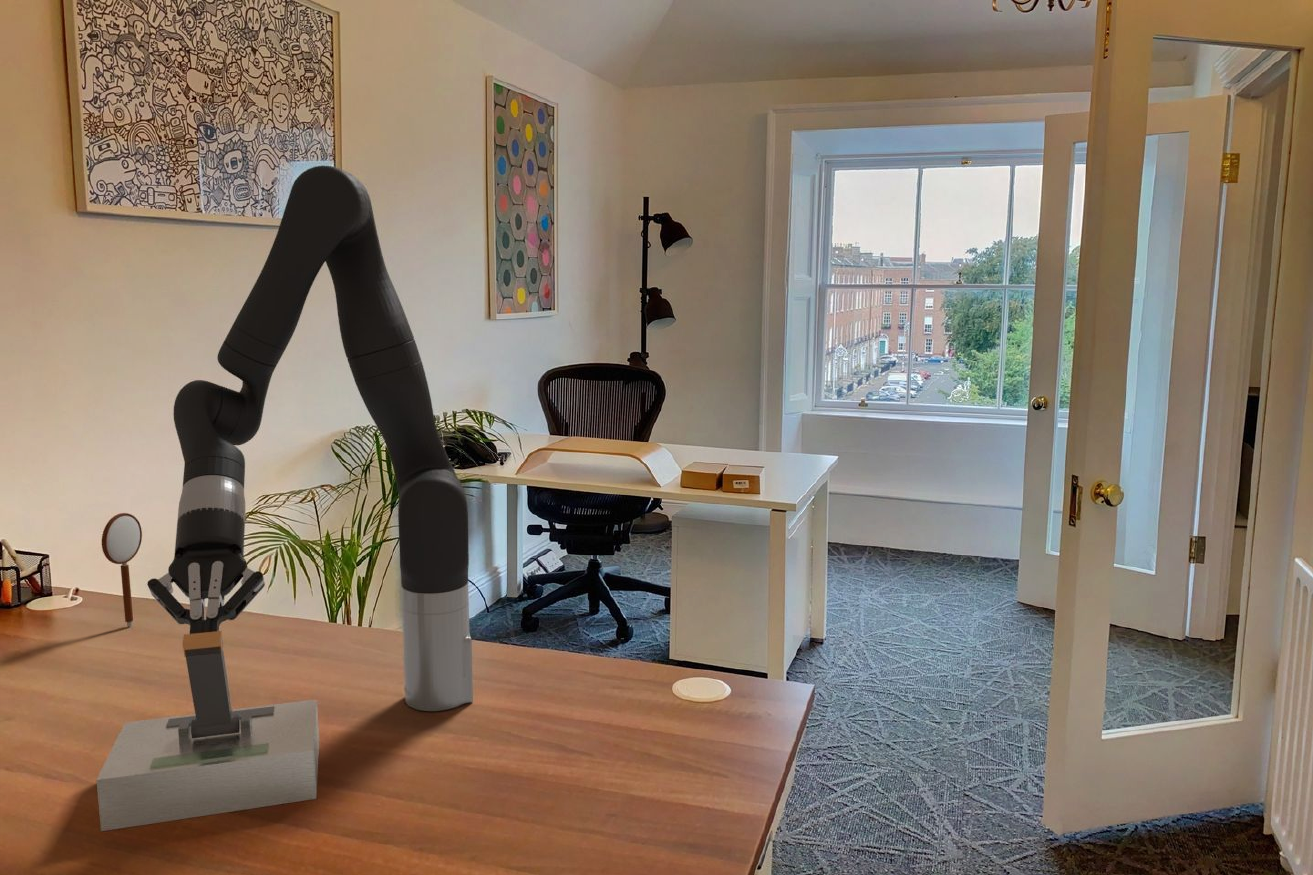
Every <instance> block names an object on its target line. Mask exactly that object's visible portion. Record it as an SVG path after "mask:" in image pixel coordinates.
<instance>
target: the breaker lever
mask: <svg viewBox="0 0 1313 875" xmlns="http://www.w3.org/2000/svg"><path fill="white" fill-rule="evenodd" d="M222 633H223V632H222V630H219V631H216V632H205V633H195V634H190V633H186V634H183V636H182V637H183V638H182V643H181V644H182V649H183V650H182V651H183V656H184V658H185V661H186V668H187V674H188V679H189V685H190V690H191V697H192V702H193V708H194V714H195V715H196V719H192V722H191V736H192V738H200V737H208V736H216V735H224V734H232V733H239V732H240V715H239V713H238V714H232V710H233V709H232V703H231V696H230V690H229V682H228V674H227V667H226V660H225V653H224V639H223V634H222Z"/></svg>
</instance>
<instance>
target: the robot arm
mask: <svg viewBox="0 0 1313 875" xmlns="http://www.w3.org/2000/svg"><path fill="white" fill-rule="evenodd" d="M278 227H279V228H278V230H277V233H276V236H275V238H274V240H273V243H272V246H271V249H270V250H269V253H268V256H267V258H266V260H265V262H264V264H263V267H262V269H261V271H260V273H259V275H258V277H257V279H256V281H255V282H254V285H253V287H252V289H251V290H250V292H249V294H248V296H247V298H246V299H245V302H244V303H243V305H242V307H241V309H240V310H239V312H238V314H237V316H236V318H235V320H234V322H233V323H232V325H231V327H230V329H229V331H228V333H227V335H226V337H225V339H224V340H223V342H222V344H221V346H220V348H219V350H218V352H217V359H216V360H217V362H218V364H219V365H220V367H222V369H224V370H225V371H226V372H228V373H229V374H231V375H233V376H234V377H236V378H237V379H239V380H240V381H242V385H241V388H240V390H239V391H237V390H234V389H232V388H227V387H226V386H222V385H219V384H217V383H214V382H211V381H208V380H204V379H196V380H192V381H190V382H188V383H186V384H185V385H184V386H183V387H181V389H180V390H179V391H178V393H177V395H176V397H175V400H174V405H173V422H174V427H175V429H176V434H177V437H178V441H179V444H180V449H181V452H182V453H181V454H182V457H183V462H184V467H183V468H184V469H183V477H182V479H183V480H182V490H181V494H180V497H179V498H180V499H179V502H178V509H177V510H178V511H177V512H178V513H177V522H176V523H177V524H176V533H175V534H176V535H175V543H174V546H175V547H174V554H173V555H174V557H173V560H172V561H171V563H170V564H169V566H168V571H167V573H166V574H164V575H163V576H161V577H160V578H158V579H157V578H150V579H149V580H148V581H147V584H146V585H147V588H148V589H149V592H150V594H151V596H152V597H153V598H154V599H155V600H156V601H157V602H158V603H159V604H160V605H161V607H162V608H163V609H164V610H165V611H166V612H167V614H169V615H170V616H171V617H172V618H173V619H174V621H176V623H177V624H179V625H189V634H195V633H205V632H216V631H220V626H221V624H222V623H223V622H225V621H233V620H235V619H237V618H238V617H239V615H240V614H241V613H242V612H243V611H244V610H245V608H247V607H248V605H249V604H250V603H251V602H252V601H253V599H255V597H256V596H257V595H258V594H259V593H260V592H261V591H262V590H263V588H264V587H265V586H266V583H265V577H264V574H263V573H262V571H259V570H257V571H254V570H252V569H250V568H249V567H248V563H247V561H246V559H245V557H244V553H245V552H244V551H245V530H246V528H245V527H246V525H245V524H246V521H247V514H246V498H245V497H246V496H245V481H246V480H245V477H246V476H245V475H246V474H245V473H246V458H245V456H244V454H243V452H242V451H241V450H240V449H239V448H238V447H237V446H241V445H245V444H246V443H248V442H250V441H251V440H252V439H254V437H255V436H256V435H257V433H258V432H259V430H260V428H261V423H262V419H263V413H264V408H265V403H266V402H265V401H266V398H267V395H268V390H269V386H270V382H271V380H272V376H273V373H274V372H275V369H276V368H277V365H278V364H279V362H280V360H281V359H282V357H283V355H284V353H285V351H286V349H287V347H288V345H289V343H290V341H291V339H292V337H293V336H294V333H295V330H296V328H297V326H298V325H299V324H298V323H299V321H300V318H301V315H302V313H303V309H304V306H305V304H306V301H307V298H308V295H309V293H310V291H311V288H312V286H313V284H314V281H315V280H316V278H317V276H318V274H319V272H320V270H321V269H322V267H323V265H324V264H326V266H327V268H328V271H329V273H330V274H329V275H330V277H331V280H332V283H333V288H334V293H335V294H334V295H335V299H336V300H335V301H336V311H337V318H338V325H339V332H340V337H341V343H342V346H343V351H344V354H345V357H346V358H347V362H348V365H349V366H348V367H350V371H351V375H352V377H353V380H354V383H355V385H356V388H357V391H358V392H359V394H360V396H361V399H362V401H363V403H364V405H365V407H366V409H367V411H368V414H369V415H370V416H371V419H372V420H373V422H374V424H375V425H376V427H377V429H378V431H379V433H380V435H381V437H382V438H383V441H384V442H385V445H386V448H387V451H388V454H389V458H390V462H391V465H392V469H393V474H394V477H395V482H396V486H397V492H398V505H397V506H398V508H397V509H398V510H397V511H398V512H397V513H398V514H397V517H398V518H397V519H398V521H397V522H398V540H399V543H398V544H399V568H400V569H399V570H400V583H401V586H400V587H401V609H402V611H401V612H402V639H403V640H402V641H403V668H404V672H403V673H404V696H405V697H404V698H405V699H404V700H405V703H406V705H407V706H408V707H410V708H412V709H415V710H418V711H423V712H425V711H426V712H441V711H446V710H451V709H455V708H457V707H460V706H462V705H464V704H468V703H473V702H474V686H473V685H474V683H473V680H474V679H473V676H474V673H473V641H472V640H473V639H472V637H471V633H470V603H469V602H470V599H469V594H470V593H469V565H470V562H469V560H470V556H469V554H470V553H469V509H468V501H467V496H466V492H465V489H464V487H463V484H462V482H461V480H460V479H459V477H458V475H457V473H456V472H455V469H454V467H453V465H452V463H451V460H450V458H449V456H448V454H447V452H446V451H447V450H446V449H445V447H444V445H443V444H444V443H443V442H442V439H441V436H440V434H439V431H438V429H437V428H438V427H437V425H436V419H435V416H434V409H433V403H432V398H431V393H430V389H429V384H428V380H427V376H426V371H425V369H424V364H423V361H422V358H421V354H420V353H419V349H418V346H417V342H416V340H415V338H414V334H413V331H412V329H411V326H410V324H409V320H408V318H407V315H406V313H405V310H404V308H403V306H402V302H401V301H400V298H399V296H398V292H397V291H396V289H395V286H394V284H393V281H392V280H391V278H390V275H389V271H388V269H387V266H386V263H385V260H384V259H385V258H384V255H383V252H382V248H381V245H380V238H379V235H378V231H377V226H376V221H375V215H374V211H373V206H372V201H371V197H370V195H369V193H368V190H367V188H366V187H365V184H363V183H362V182H361V181H360V180H359V179H358V178H357V177H356V176H354V175H353V174H352V173H350V172H348V171H346V170H343V169H341V168H339V167H335V166H332V165H318V166H313V167H311V168H308V169H306V170H305V171H303V172H301V174H299V175H298V177H296V179H295V180H294V182H293V184H292V186H291V189H290V192H289V195H288V199H287V201H286V205H285V208H284V211H283V214H282V218H281V220H280V224H279V226H278ZM240 581H241V582H240ZM239 582H240V583H241V586H240V587H239V588H238V589H237V590H236V592H235V593H233V595H231V597H230V598H229V599H228V600H227V601H226V602H225V598H226V596H228V594H230V593H231V592H232V591H233V589H234V588H235V587H236V586H237V585H238V583H239ZM173 583H174V584H175V585H176V586H177V587H178V588H179V590H180V591H181V592H182V593H183V594H184V595H185V596H186V598H188V599H189V608H185V607H184V606H183V605H182V604H181V603H180V601H178V600H177V599H176V598H175V596H174V595H173V593H174V587H173ZM206 599H207V600H208V601H207V608H206V601H205V600H206ZM205 610H206V613H205ZM205 617H206V618H205Z"/></svg>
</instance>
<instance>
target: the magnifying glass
mask: <svg viewBox="0 0 1313 875" xmlns="http://www.w3.org/2000/svg"><path fill="white" fill-rule="evenodd" d="M142 536H143V531H142V526H141V524H140V521H139V519H138V518H137V517H135V515H133V514H131V513H127V512H123V513H122V512H121V513H118V514H116V515H113V517H111V518H110V519H109V520H108V521H107V523H106V524H105V527H104V528H103V531H102V535H101V549H102V553H103V555H104V557H105V558H106V560H108V561H109V562H111V563H113V564H116V565H120V574H121V586H122V597H123V598H122V599H123V600H122V601H123V608H124V610H123V611H124V620H125V621H124V622H125V623H126V626H127V627H132V625H133V621H134V616H133V615H134V613H133V601H132V589H131V579H130V578H131V577H130V567H129V564H128V563H129V562H130V561H131V560H133V558H134V557H136V556H137V554H138V552H139V549H140V548H141V544H142V540H143V539H142V538H143V537H142Z"/></svg>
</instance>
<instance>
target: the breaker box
mask: <svg viewBox="0 0 1313 875" xmlns="http://www.w3.org/2000/svg"><path fill="white" fill-rule="evenodd" d="M238 713H239V715H240V732H239V733H232V734H224V735H216V736H208V737H200V738H192V736H191V722H192V719H196V715H195V713H191V714H185V715H177V716H176V715H175V716H174V715H173V716H168V717H159V718H151V719H143V720H136V721H135V720H134V721H126V722H124V723H123V725H122V727H121V729H120V731H119V734H118V736H117V738H116V739H115V742H114V744H113V746H112V748H111V750H110V751H109V754H108V756H107V758H106V759H105V762H104V764H103V766H102V768H101V770H100V772H99V774H98V776H97V778H96V781H95V782H96V791H97V792H96V793H97V802H98V811H99V812H98V814H99V821H100V822H99V823H100V824H99V825H100V831H101V832H105V831H113V830H118V829H125V828H130V827H131V828H133V827H138V826H145V825H151V824H152V825H153V824H158V823H165V822H171V821H178V820H185V819H192V818H197V817H198V818H199V817H204V816H205V817H206V816H211V815H212V816H213V815H217V814H225V813H231V812H239V811H244V810H252V809H257V808H264V807H270V806H278V805H282V804H290V803H296V802H303V801H310V800H316V799H317V790H318V773H319V772H318V770H319V751H320V733H319V731H320V730H319V715H318V714H319V713H318V700H317V699H309V700H302V701H292V702H285V703H284V702H283V703H275V704H267V705H259V706H251V707H250V706H249V707H242V708H241V707H240V708H235V709H234V708H233V709H232V714H238Z"/></svg>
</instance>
